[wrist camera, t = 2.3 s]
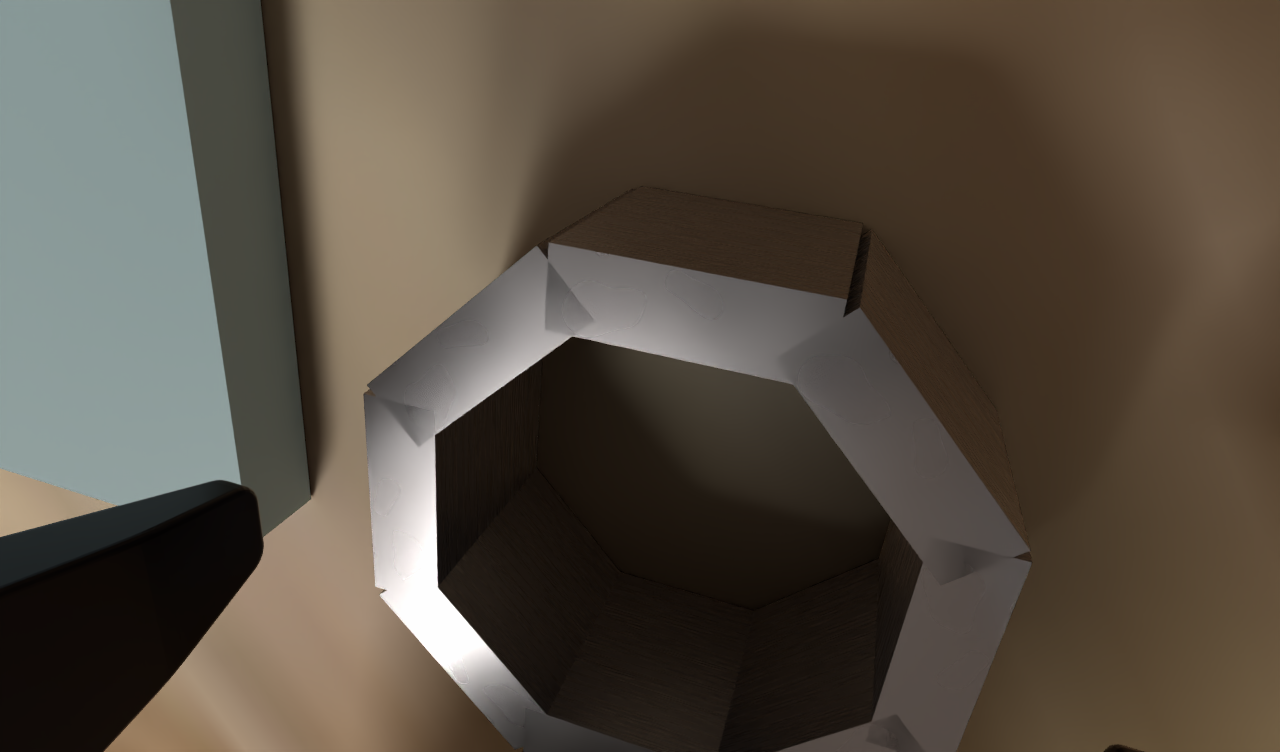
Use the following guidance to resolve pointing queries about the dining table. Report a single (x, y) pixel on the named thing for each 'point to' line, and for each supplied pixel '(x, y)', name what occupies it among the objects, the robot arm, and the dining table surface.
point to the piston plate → (144, 254)
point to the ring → (662, 615)
